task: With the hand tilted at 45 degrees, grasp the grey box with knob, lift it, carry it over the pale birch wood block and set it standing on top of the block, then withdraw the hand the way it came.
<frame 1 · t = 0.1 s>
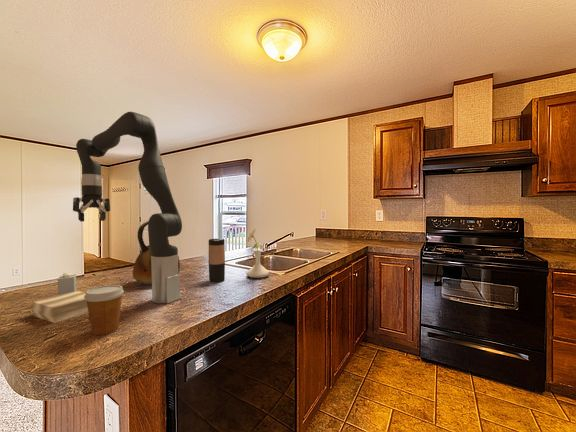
hand: (92, 221, 123), 29 cm above the countertop, tool pointing down, fingers open, 8 cm apart
birch block: (67, 313, 92), on the countertop
grey box with knob: (67, 299, 105), on the countertop
ceramic pitcher: (157, 282, 129), on the countertop
disposable coffee cup: (105, 331, 79), on the countertop
travel mug: (216, 281, 132), on the countertop
flower in vase: (256, 277, 139), on the countertop
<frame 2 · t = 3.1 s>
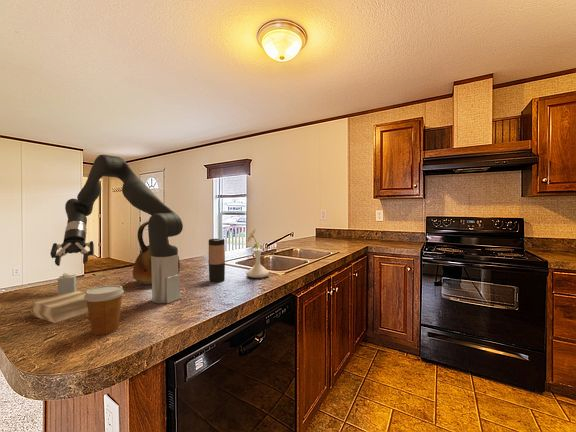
hand: (71, 263, 112), 12 cm above the countertop, tool tilted 45°, fingers open, 8 cm apart
nothing on the countertop moved.
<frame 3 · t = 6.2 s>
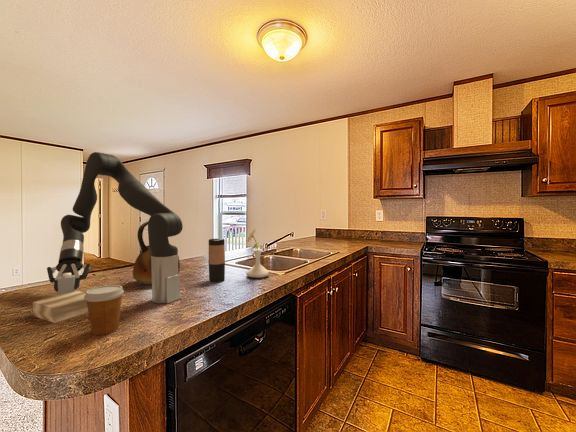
hand: (66, 289, 103), 4 cm above the countertop, tool tilted 45°, fingers closed on grey box with knob, 4 cm apart
grey box with knob: (67, 299, 105), on the countertop, touching gripper
everything else where it was.
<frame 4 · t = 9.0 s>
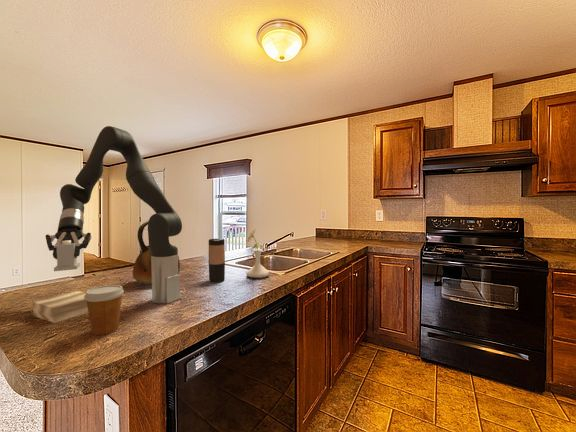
hand: (66, 257, 98), 18 cm above the countertop, tool tilted 45°, fingers closed on grey box with knob, 4 cm apart
grey box with knob: (67, 268, 100), point 13 cm above the countertop, touching gripper
everything else where it was.
when the fingers open (10 cm above the countertop, at t = 12.0 s): grey box with knob drops 1 cm, point 5 cm above the countertop.
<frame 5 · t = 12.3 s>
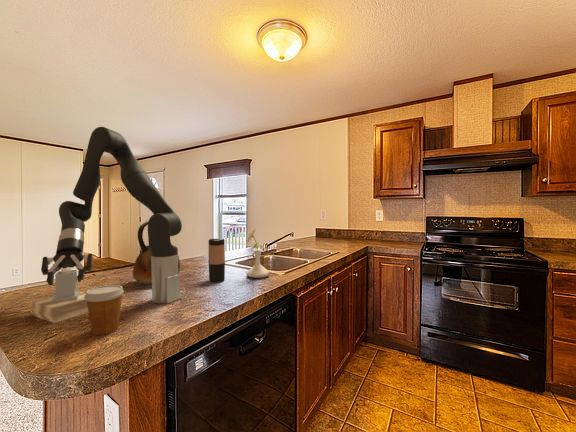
hand: (65, 282, 91), 11 cm above the countertop, tool tilted 45°, fingers open, 7 cm apart
grey box with knob: (66, 298, 92), point 5 cm above the countertop
everything else where it was.
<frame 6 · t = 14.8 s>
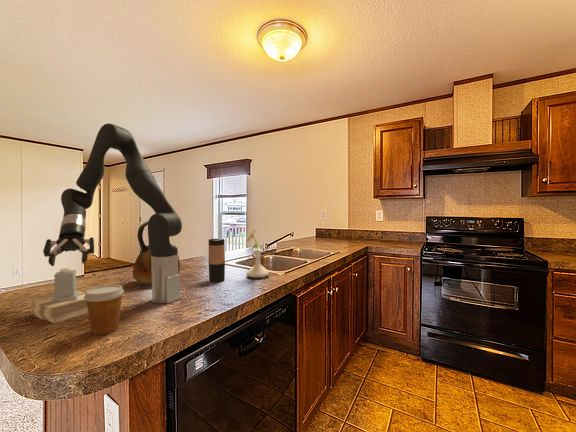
hand: (68, 263, 95), 16 cm above the countertop, tool tilted 45°, fingers open, 8 cm apart
nothing on the countertop moved.
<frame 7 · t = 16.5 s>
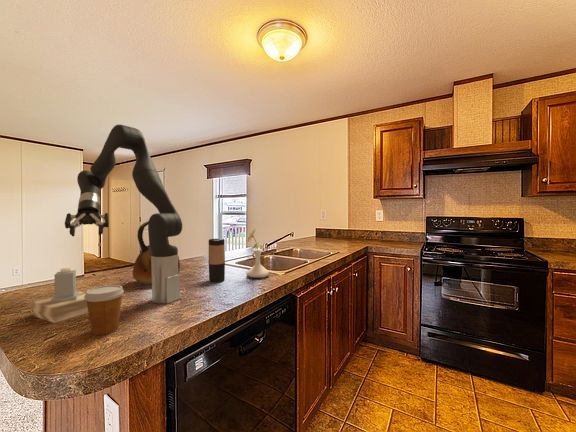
hand: (86, 234, 107), 25 cm above the countertop, tool tilted 45°, fingers open, 8 cm apart
nothing on the countertop moved.
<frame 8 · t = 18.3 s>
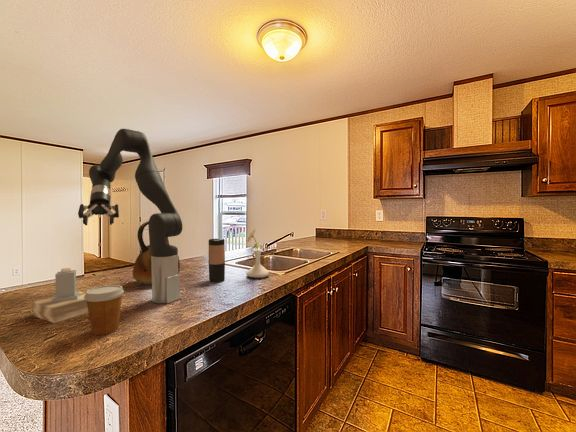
hand: (98, 223, 113), 29 cm above the countertop, tool tilted 45°, fingers open, 8 cm apart
birch block: (67, 313, 92), on the countertop, touching grey box with knob
grey box with knob: (66, 298, 93), point 5 cm above the countertop, touching birch block
everything else where it was.
at the end: grey box with knob inside the target area on the birch block (0.4 cm from its centre), point 5.0 cm above the birch block's base; grey box with knob tilted 0°; the gripper is holding nothing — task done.
